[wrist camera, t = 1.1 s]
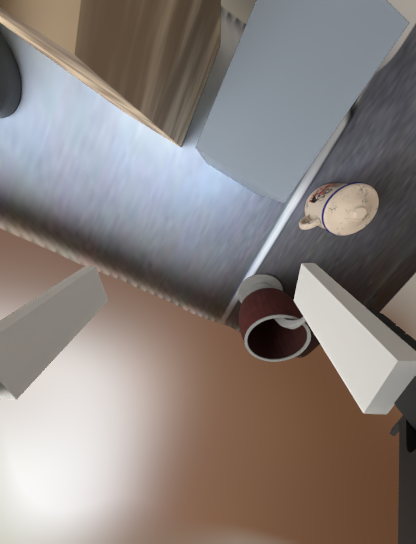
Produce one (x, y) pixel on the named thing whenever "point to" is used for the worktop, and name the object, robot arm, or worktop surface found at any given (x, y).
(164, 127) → the oak stand
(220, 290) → the worktop surface
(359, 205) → the teacup with lid
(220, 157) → the slate base
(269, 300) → the mate gourd
